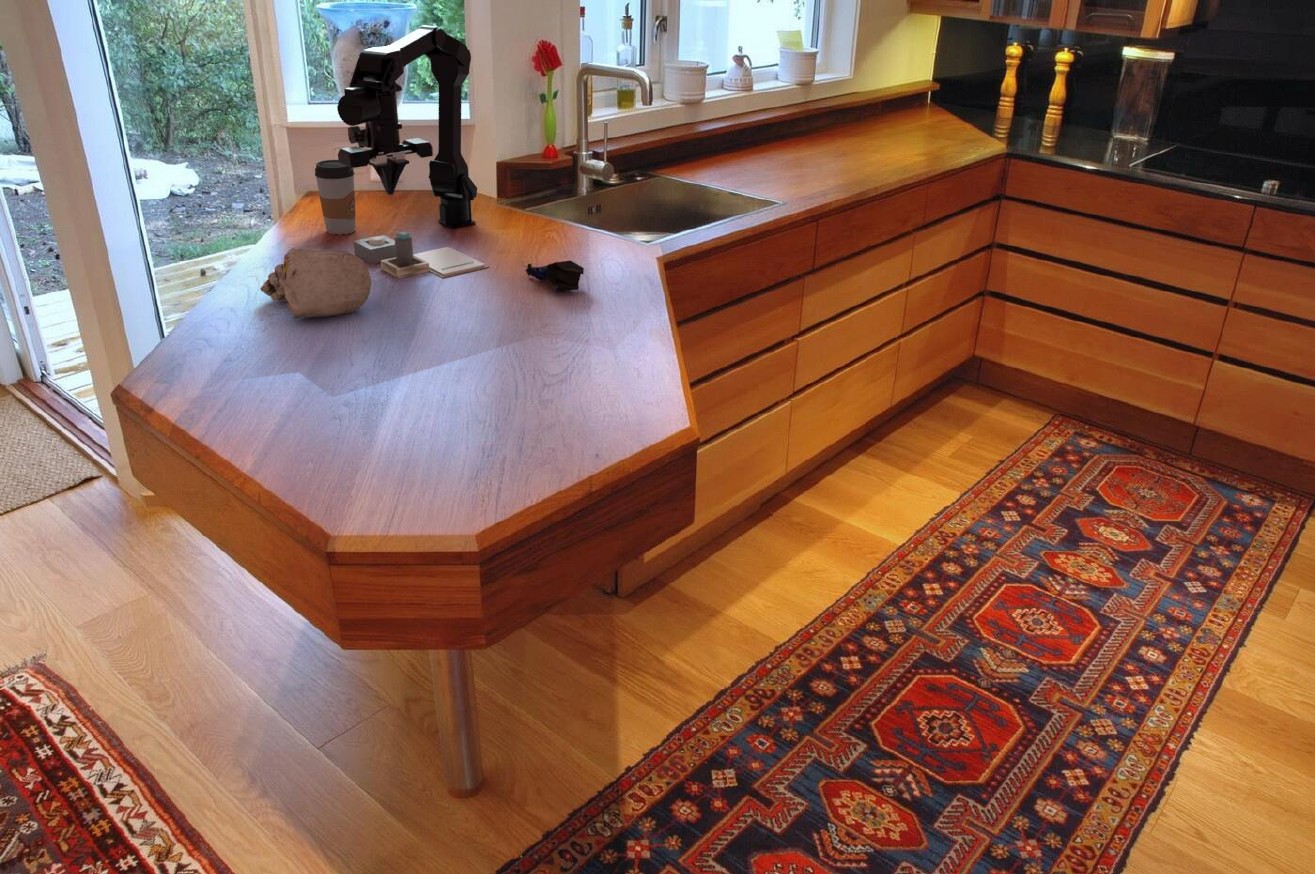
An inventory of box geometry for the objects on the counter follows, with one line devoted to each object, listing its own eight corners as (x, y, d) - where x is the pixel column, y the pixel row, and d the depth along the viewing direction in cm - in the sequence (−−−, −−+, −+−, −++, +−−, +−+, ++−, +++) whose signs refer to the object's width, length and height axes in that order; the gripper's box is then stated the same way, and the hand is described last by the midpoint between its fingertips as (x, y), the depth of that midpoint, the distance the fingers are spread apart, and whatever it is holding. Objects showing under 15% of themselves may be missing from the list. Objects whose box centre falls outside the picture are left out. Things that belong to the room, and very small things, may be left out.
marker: (409, 263, 207) (406, 230, 204) (417, 268, 205) (414, 234, 201) (394, 266, 205) (391, 232, 202) (401, 271, 203) (398, 237, 199)
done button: (380, 249, 214) (379, 235, 212) (388, 253, 212) (387, 239, 210) (367, 252, 212) (365, 238, 210) (374, 256, 210) (373, 242, 208)
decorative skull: (252, 240, 185) (274, 251, 169) (349, 239, 194) (378, 250, 178) (257, 308, 189) (279, 325, 172) (352, 304, 197) (381, 320, 181)
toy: (553, 263, 208) (596, 264, 197) (549, 294, 208) (592, 297, 197) (515, 256, 202) (557, 256, 191) (511, 287, 202) (553, 289, 191)
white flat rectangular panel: (449, 248, 218) (448, 245, 218) (489, 267, 209) (489, 264, 208) (403, 258, 211) (403, 255, 211) (442, 278, 202) (442, 275, 201)
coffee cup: (349, 238, 222) (342, 170, 214) (314, 234, 223) (306, 166, 216) (366, 227, 229) (360, 161, 221) (332, 223, 230) (325, 157, 223)
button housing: (384, 248, 216) (383, 235, 215) (401, 257, 212) (400, 243, 210) (354, 254, 212) (353, 241, 211) (371, 263, 208) (370, 249, 206)
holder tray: (411, 262, 209) (410, 254, 209) (429, 271, 205) (429, 263, 204) (381, 269, 205) (380, 260, 204) (399, 278, 201) (398, 269, 200)
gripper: (403, 105, 212) (409, 179, 219) (320, 115, 200) (329, 192, 208) (432, 115, 205) (436, 191, 212) (347, 125, 193) (356, 205, 201)
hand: (390, 194), depth 208 cm, fingers closed
